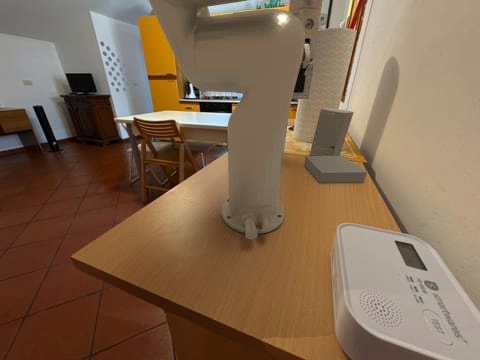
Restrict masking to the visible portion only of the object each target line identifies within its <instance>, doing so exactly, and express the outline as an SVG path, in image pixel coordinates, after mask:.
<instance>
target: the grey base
mask: <svg viewBox="0 0 480 360" xmlns="http://www.w3.org/2000/svg"><path fill="white" fill-rule="evenodd" d="M303 166H304V167H305V168H306V169H307V171H308V172H310V174H311V175H312V176H313V177H314V178H315V180H316V181H317V182H318V183H319V184H341V183H343V184H348V183H349V184H350V183H352V184H354V183H355V184H356V183H365V180H366V177H367V175H368V171H366V169H363V168H362V167H360V166H359V165H357V164H356V163H355V162H353V161H351V160H350V159H349V158H347V157H345V156H344V155H340V156H312V155H306V156H305V157H304V163H303Z"/></svg>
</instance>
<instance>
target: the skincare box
mask: <svg viewBox="0 0 480 360" xmlns="http://www.w3.org/2000/svg"><path fill="white" fill-rule="evenodd" d="M354 113H355V112H354V111H350V110H344V109H341V108H340V109H339V108H334V107H333V108H332V107H329V108H324V107H322V108H321V109H320V111H319V115H318V116H319V117H318V118H317V119H318V120H317V124H316V127H315V131H314V134H313V139H312V142H311V147H310V150H309V156H341V152H342V149H343V147H344V144H345V140H346V137H347V134H348V131H349V128H350V125H351V122H352V120H353V116H354Z"/></svg>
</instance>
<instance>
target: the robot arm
mask: <svg viewBox="0 0 480 360" xmlns="http://www.w3.org/2000/svg"><path fill="white" fill-rule="evenodd" d="M247 1H249V0H148V3H149V5H150V6H151V9H152V11H153V12H154V15H155V17H156V19H157V21H158V24H159V25H160V28H161V30H162V32H163V34H164V36H165V39H166V41H167V43H168V44H169V46H170V49H171V51H172V53H173V56H174V57H175V59H176V62H177V64H178V66H179V68H180V69H181V72H182V73H183V75H184V77H185V78H186V79H187V81H188V82H189V83H190V84H191V85H192V86H193V87H195V88H196V89H197V90H200V91H204V92H210V93H211V92H213V93H235V94H241V95H242V96H241V98H240V101H239V102H238V104H237V105H236V106H235V108H234V109H233V110H232V112H231V114H230V116H229V118H228V121H227V122H228V123H227V126H226V127H227V129H226V131H227V171H228V172H227V176H228V177H227V178H228V181H227V182H228V198H226V199H225V200H224V201H223V203H222V204H221V209H220V211H221V212H220V213H221V218H222V219H223V222H224V223H225V224H226V225H227V226H228V227H229V228H231V229H233V230H236V231H237V232H240V233H244V234H245V235H244V236H245V238H246V239H248V240H255V239H256V238H258V235H259V234H265V233H270V232H271V231H274V230H275V229H277V228H278V227H280V225H282V223H283V222H284V220H285V213H286V212H285V208H284V206H283V204H282V202H280V200H279V196H280V195H279V194H280V187H281V180H282V170H283V162H284V155H285V147H286V146H285V145H286V141H287V140H286V139H287V131H288V123H289V116H290V112H291V111H290V110H291V106H292V105H291V104H292V100H293V99H292V96H293V92H294V93H302V92H303V91H304V85H305V78H306V74H307V67H308V64H311V63H312V62H313V61H314V60H315V59H316V55H317V54H316V53H317V44H318V38H319V30H320V16H321V14H322V13H321V12H322V7H323V0H289V4H288V5H289V6H288V10H284V9H277V8H264V9H255V10H254V9H253V10H246V11H244V10H243V11H238V12H235V11H234V12H232V13H226V14H218V15H210V10H209V7H215V6H222V5H229V4H236V3H241V2H247Z"/></svg>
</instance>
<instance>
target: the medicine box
mask: <svg viewBox="0 0 480 360" xmlns="http://www.w3.org/2000/svg"><path fill="white" fill-rule="evenodd" d="M314 68H315V64H314V63H308V67H307V74H306V78H305V85H304V91H303V92H302V93H294V92H293V96H292V100H309V99H310V93H311V92H310V91H311V86H312V79H313V75H314V70H315V69H314Z"/></svg>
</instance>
